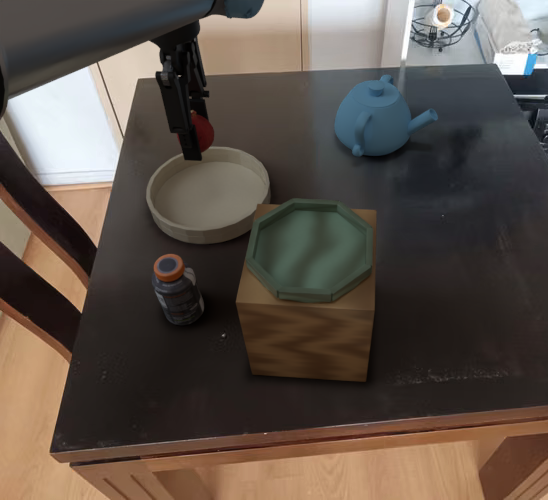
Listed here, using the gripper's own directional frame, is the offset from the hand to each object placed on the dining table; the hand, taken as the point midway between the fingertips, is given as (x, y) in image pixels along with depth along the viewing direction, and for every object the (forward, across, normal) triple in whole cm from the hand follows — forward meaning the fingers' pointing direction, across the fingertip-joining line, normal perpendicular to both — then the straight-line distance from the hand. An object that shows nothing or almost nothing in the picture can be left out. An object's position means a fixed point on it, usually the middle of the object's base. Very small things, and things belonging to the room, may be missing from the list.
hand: (198, 145), depth 88 cm
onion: (+2, 0, 0) cm, 2 cm away
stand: (+13, -26, -21) cm, 36 cm away
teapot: (+12, +19, -31) cm, 39 cm away
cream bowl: (+13, 0, 0) cm, 13 cm away
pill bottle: (+13, -24, -1) cm, 27 cm away
